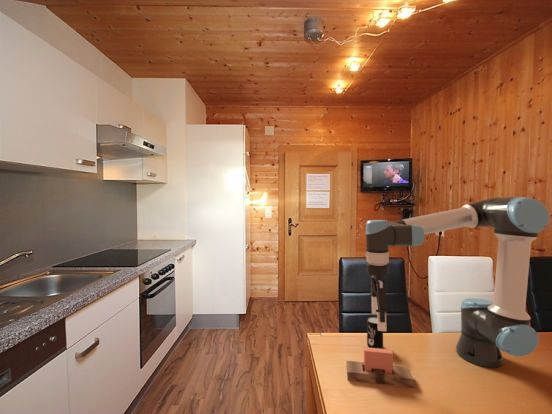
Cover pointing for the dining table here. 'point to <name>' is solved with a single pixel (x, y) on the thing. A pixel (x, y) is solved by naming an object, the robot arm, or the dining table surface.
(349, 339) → the dining table surface
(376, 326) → the beverage can
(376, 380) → the grey-brown slotted holder
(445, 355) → the dining table surface
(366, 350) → the pink pronged block
